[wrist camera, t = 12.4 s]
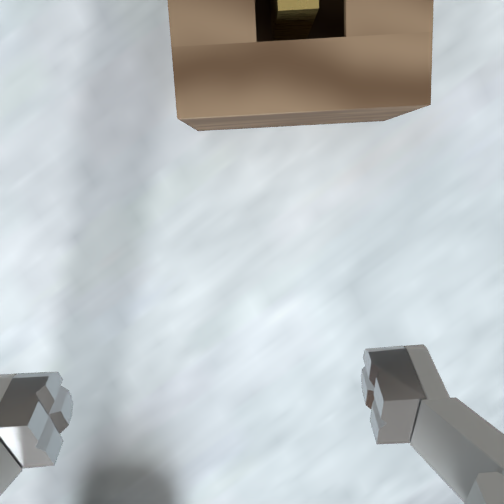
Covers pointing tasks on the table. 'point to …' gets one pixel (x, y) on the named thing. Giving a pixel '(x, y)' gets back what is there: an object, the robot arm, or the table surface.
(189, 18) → the box
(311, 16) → the gold rectangular block
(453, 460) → the robot arm
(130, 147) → the table surface
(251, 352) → the table surface
